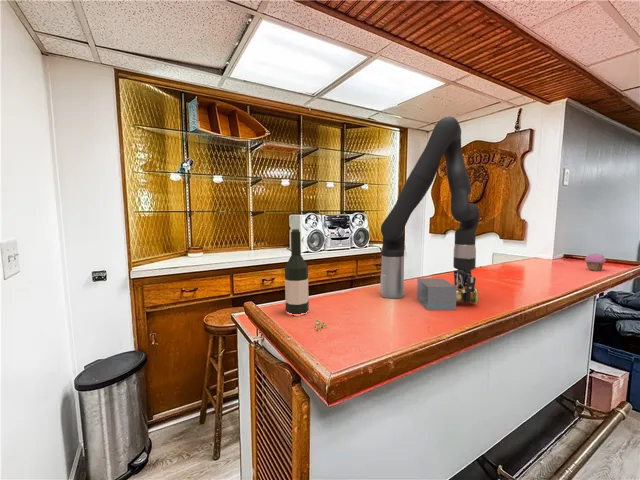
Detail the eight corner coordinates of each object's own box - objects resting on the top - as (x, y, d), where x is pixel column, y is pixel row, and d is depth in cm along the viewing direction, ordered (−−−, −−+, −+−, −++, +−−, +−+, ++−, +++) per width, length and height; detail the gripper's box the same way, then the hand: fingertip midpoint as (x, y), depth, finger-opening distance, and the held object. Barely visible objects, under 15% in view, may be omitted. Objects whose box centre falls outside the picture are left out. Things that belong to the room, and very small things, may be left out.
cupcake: (608, 271, 170) (609, 254, 170) (598, 272, 168) (599, 254, 167) (590, 268, 179) (591, 252, 178) (580, 269, 177) (581, 253, 176)
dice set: (318, 325, 96) (317, 319, 96) (329, 329, 93) (329, 323, 92) (306, 329, 92) (306, 323, 92) (318, 334, 89) (318, 327, 89)
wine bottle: (300, 318, 101) (298, 230, 98) (280, 314, 105) (278, 229, 103) (313, 311, 108) (311, 228, 105) (295, 307, 113) (293, 228, 110)
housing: (427, 310, 107) (428, 286, 107) (417, 299, 121) (417, 278, 120) (455, 310, 107) (456, 286, 106) (442, 299, 121) (442, 278, 120)
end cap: (442, 305, 111) (443, 289, 110) (436, 300, 117) (437, 284, 116) (478, 306, 110) (479, 289, 109) (470, 300, 116) (471, 284, 116)
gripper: (447, 253, 119) (446, 295, 121) (462, 259, 105) (461, 306, 106) (466, 253, 119) (465, 295, 120) (484, 258, 104) (482, 306, 106)
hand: (463, 300), depth 113 cm, fingers closed on end cap, 5 cm apart
